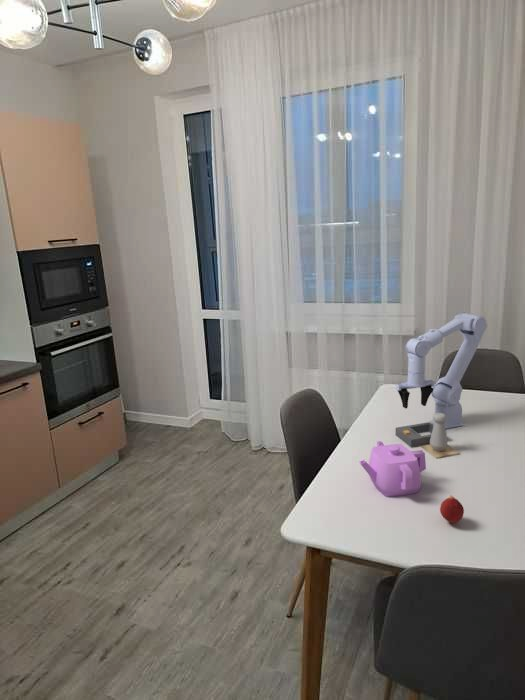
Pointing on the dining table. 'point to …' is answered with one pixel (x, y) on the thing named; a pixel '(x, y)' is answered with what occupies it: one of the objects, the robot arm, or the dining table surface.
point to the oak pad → (447, 451)
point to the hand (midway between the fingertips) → (414, 406)
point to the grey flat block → (415, 434)
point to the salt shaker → (438, 433)
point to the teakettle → (395, 469)
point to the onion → (452, 510)
